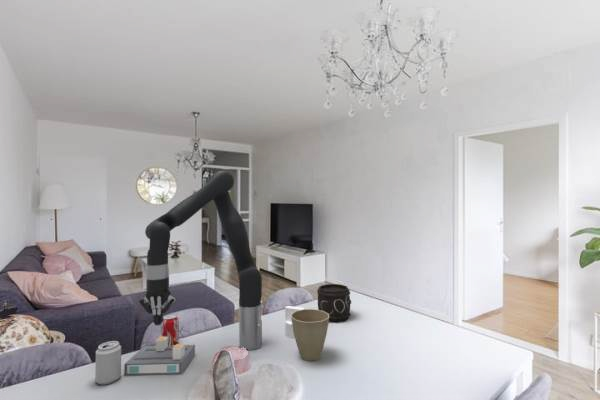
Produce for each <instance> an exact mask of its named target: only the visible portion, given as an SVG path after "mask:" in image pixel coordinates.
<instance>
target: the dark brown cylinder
mask: <svg viewBox="0 0 600 400" xmlns="http://www.w3.org/2000/svg"><path fill="white" fill-rule="evenodd" d="M316 291H317V292H316V293H317V310H321V311H324V312H326V313H328V314H329V323H333V324H334V323H336V324H337V323H344V322H346V321H347V320H349V319H350V317H351V304H352V300H351V291H350V289H349V288H348V286H347V285H345V284H341V283H340V284H337V283H336V284H335V283H328V284H322V285H320V286H318V288H317V290H316Z"/></svg>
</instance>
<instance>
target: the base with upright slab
mask: <svg viewBox="0 0 600 400" xmlns="http://www.w3.org/2000/svg"><path fill="white" fill-rule="evenodd" d="M304 309H306V308H305V307H300V306H292V305H290V306H289V305H287V306H285V309H284V311H285V313H284V315H285V316H284V317H285V319H284V321H285V325H284V327H285V337H287V338H290V339H295V336H294V332H293V326H292V319H291V314H292V313H294V312H296V311H299V310H304Z"/></svg>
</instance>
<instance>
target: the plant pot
mask: <svg viewBox="0 0 600 400" xmlns="http://www.w3.org/2000/svg"><path fill="white" fill-rule="evenodd" d="M291 319H292V326H293V332H294V336H295V338H294V339H295V344H296V346H297V347H296V348H297V350H298V352H299V355H300V358H301V359H302V360H304V361H308V362H313V361H317V360H319V359H320V357H321V354H322V352H323V349H324V345H325V342H326V338H327V335H328V334H327V333H328V330H329V329H328V328H329V323H330V322H329V314H328V313H326V312H324V311H321V310H318V309H313V308H308V309H307V308H305V309H304V310H299V311H296V312H294V313H292V314H291Z"/></svg>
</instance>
